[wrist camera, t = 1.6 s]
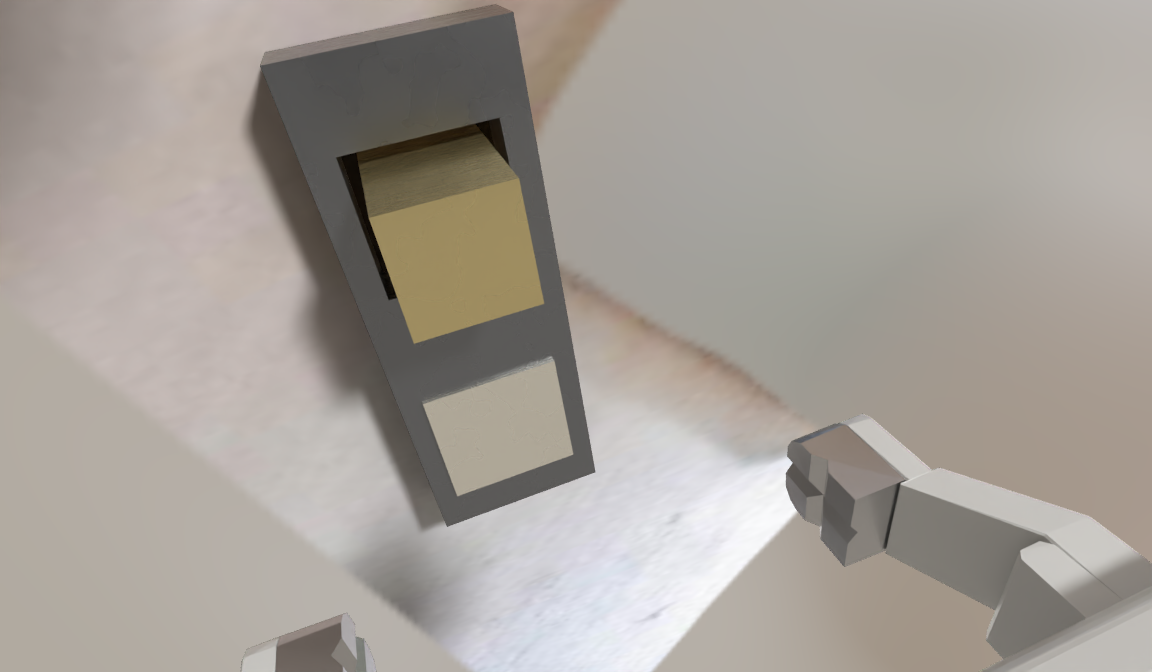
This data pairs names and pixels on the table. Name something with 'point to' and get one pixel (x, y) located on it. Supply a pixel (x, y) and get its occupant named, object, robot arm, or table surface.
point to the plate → (414, 371)
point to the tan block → (450, 230)
